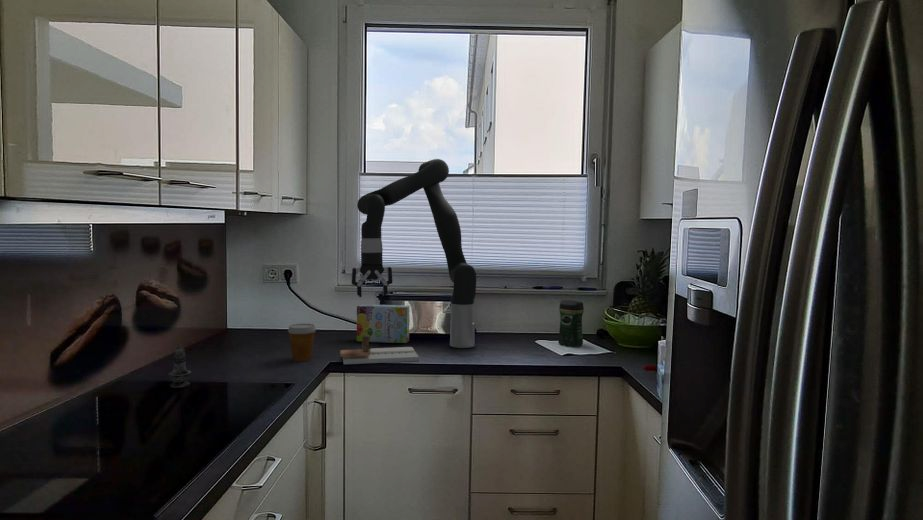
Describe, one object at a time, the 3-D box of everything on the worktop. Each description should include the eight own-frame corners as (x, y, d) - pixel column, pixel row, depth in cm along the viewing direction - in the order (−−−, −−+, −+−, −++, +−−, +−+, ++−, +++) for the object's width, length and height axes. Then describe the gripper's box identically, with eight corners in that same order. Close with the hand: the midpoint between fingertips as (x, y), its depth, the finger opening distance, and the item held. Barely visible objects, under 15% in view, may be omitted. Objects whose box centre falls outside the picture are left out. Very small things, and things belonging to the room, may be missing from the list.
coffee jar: (585, 345, 214) (587, 300, 213) (575, 348, 208) (577, 302, 207) (565, 341, 221) (566, 298, 219) (555, 344, 215) (556, 299, 214)
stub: (369, 351, 185) (369, 333, 185) (370, 355, 180) (370, 337, 180) (340, 353, 183) (340, 334, 182) (340, 356, 177) (340, 337, 177)
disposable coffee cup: (321, 357, 186) (321, 324, 185) (305, 364, 177) (305, 329, 176) (298, 355, 189) (299, 322, 188) (281, 361, 180) (281, 326, 179)
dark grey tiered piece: (174, 381, 154) (173, 342, 153) (194, 381, 154) (194, 342, 154) (164, 388, 148) (163, 346, 147) (185, 387, 148) (185, 346, 148)
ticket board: (412, 352, 196) (412, 346, 196) (418, 360, 184) (418, 354, 183) (342, 355, 190) (342, 349, 189) (343, 364, 177) (343, 357, 177)
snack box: (409, 341, 216) (409, 305, 216) (406, 343, 211) (407, 307, 210) (359, 338, 218) (360, 303, 218) (355, 341, 213) (356, 305, 212)
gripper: (390, 250, 190) (390, 294, 191) (350, 250, 186) (351, 295, 187) (393, 251, 183) (393, 297, 184) (352, 251, 179) (352, 298, 180)
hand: (372, 296), depth 185 cm, fingers open, 8 cm apart
